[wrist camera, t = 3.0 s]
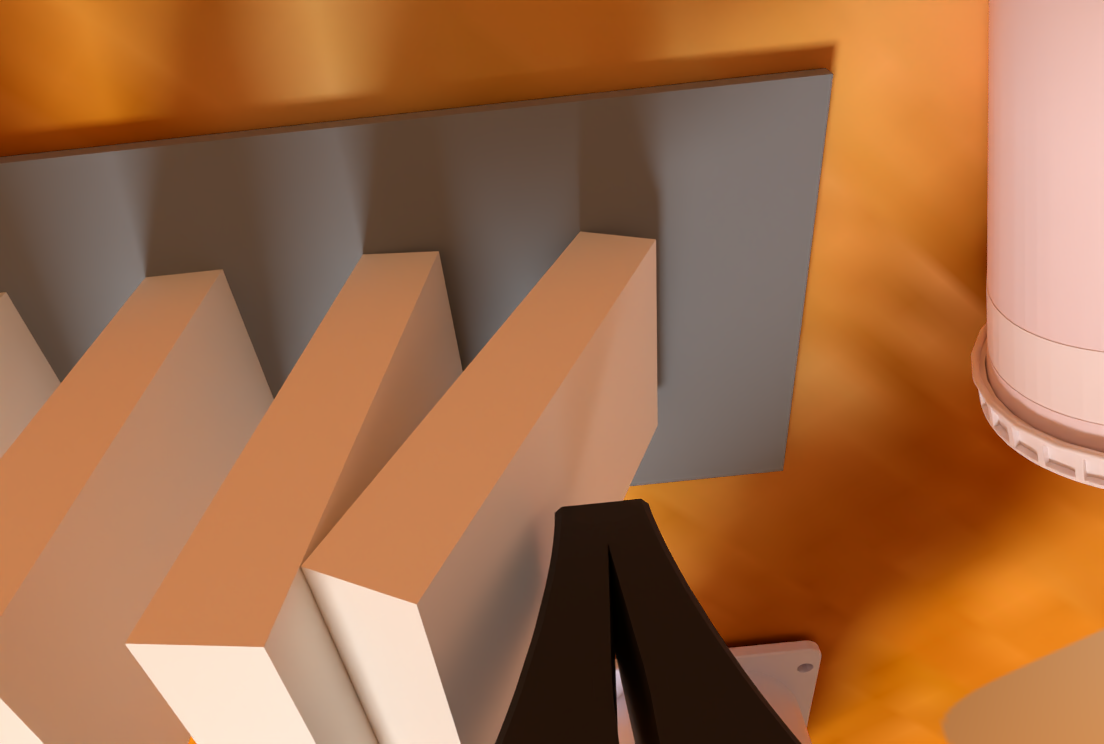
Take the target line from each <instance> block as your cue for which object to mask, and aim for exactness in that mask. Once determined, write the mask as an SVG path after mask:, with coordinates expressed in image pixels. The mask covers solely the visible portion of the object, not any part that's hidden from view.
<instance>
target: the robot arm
mask: <svg viewBox="0 0 1104 744" xmlns="http://www.w3.org/2000/svg"><path fill="white" fill-rule="evenodd" d="M615 655H616V659H615ZM821 657H822V656H821V652H820V649H819V646H818V645H817V644H816V643H815V642H813V641H809V640H803V641H793V642H783V643H773V644H763V645H753V646H743V647H733V648H728V647H727V645H726V644H725V642H724V641H723V639H722V638H721V636H720V635H719V633H718V632H717V630H716V629H715V627H714V626H713V624H712V623H711V621H710V619H709V618H708V616H707V615H706V613H705V611H704V610H703V608H702V607H701V605H700V603H699V602H698V600H697V599H696V597H695V595H694V594H693V592H692V591H691V589H690V587H689V586H688V584H687V582H686V580H685V579H684V577H683V575H682V573H681V572H680V570H679V568H678V566H677V564H676V562H675V561H674V559H673V557H672V555H671V553H670V551H669V549H668V547H667V545H666V543H665V541H664V539H663V537H662V535H661V533H660V531H659V529H658V527H657V524H656V522H655V520H654V517H653V515H652V512H651V510H650V507H649V504H648V503H647V502H645V501H644V500H642V499H634V500H624V501H614V502H604V503H594V504H584V505H574V506H564V507H561V508H560V509H558V510H557V511H556V512H555V526H554V538H553V547H552V554H551V560H550V565H549V570H548V575H547V580H546V585H545V590H544V594H543V598H542V601H541V605H540V609H539V613H538V617H537V621H536V625H535V629H534V633H533V636H532V639H531V643H530V646H529V649H528V652H527V655H526V658H525V661H524V664H523V668H522V671H521V674H520V677H519V680H518V683H517V686H516V689H515V692H514V695H513V698H512V700H511V703H510V706H509V709H508V711H507V714H506V717H505V719H504V722H503V724H502V727H501V730H500V732H499V735H498V737H497V740H496V742H495V744H812V743H811V740H810V737H809V734H808V731H807V723H808V718H809V714H810V709H811V704H812V699H813V695H814V690H815V685H816V680H817V676H818V671H819V666H820V661H821Z"/></svg>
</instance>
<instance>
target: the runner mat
mask: <svg viewBox="0 0 1104 744" xmlns="http://www.w3.org/2000/svg"><path fill="white" fill-rule="evenodd" d="M832 79H833V73H831V72H830V71H829V70H827V69H826V68H822V69H813V70H804V71H794V72H785V73H776V74H767V75H757V76H748V77H739V78H729V79H720V80H711V81H702V82H692V83H683V84H674V85H664V86H655V87H646V88H637V89H627V90H618V91H609V92H599V93H590V94H581V95H572V96H562V97H553V98H544V99H535V100H525V101H516V102H507V103H497V104H488V105H479V106H470V107H460V108H451V109H442V110H432V111H423V112H414V113H405V114H395V115H386V116H377V117H367V118H358V119H349V120H340V121H330V122H321V123H312V124H302V125H293V126H284V127H275V128H265V129H256V130H247V131H237V132H228V133H219V134H210V135H200V136H191V137H182V138H172V139H163V140H154V141H145V142H135V143H126V144H117V145H107V146H98V147H89V148H80V149H70V150H61V151H52V152H43V153H33V154H24V155H15V156H5V157H0V293H2V292H6V293H7V294H8V296H9V298H10V299H11V301H12V303H13V304H14V306H15V308H16V309H17V311H18V313H19V314H20V316H21V318H22V319H23V321H24V323H25V324H26V326H27V328H28V329H29V331H30V333H31V334H32V336H33V338H34V339H35V341H36V343H37V344H38V346H39V348H40V349H41V351H42V353H43V354H44V356H45V358H46V359H47V361H48V363H49V364H50V366H51V368H52V369H53V371H54V373H55V374H56V376H57V378H58V379H59V381H60V383H61V382H62V381H63V380H64V379H65V377H66V376H67V375H68V374H69V372H70V371H71V370H72V369H73V367H74V366H75V365H76V364H77V362H78V361H79V360H80V359H81V357H82V356H83V355H84V354H85V352H86V351H87V350H88V349H89V347H90V346H91V345H92V344H93V342H94V341H95V340H96V339H97V337H98V336H99V335H100V334H101V332H102V331H103V330H104V329H105V327H106V326H107V325H108V324H109V322H110V321H111V320H112V319H113V317H114V316H115V315H116V314H117V312H118V311H119V310H120V309H121V307H122V306H123V305H124V304H125V302H126V301H127V300H128V299H129V297H130V296H131V295H132V294H133V292H134V291H135V290H136V289H137V287H138V286H139V285H140V284H141V282H142V281H143V280H144V279H145V277H154V276H163V275H173V274H182V273H192V272H201V271H211V270H220V269H223V272H224V274H225V277H226V279H227V282H228V284H229V287H230V289H231V292H232V295H233V297H234V300H235V302H236V305H237V307H238V310H239V312H240V315H241V317H242V320H243V322H244V325H245V327H246V330H247V333H248V335H249V338H250V340H251V343H252V345H253V348H254V350H255V353H256V355H257V358H258V360H259V363H260V365H261V368H262V370H263V373H264V376H265V378H266V381H267V383H268V386H269V388H270V391H271V393H272V396H273V398H274V399H275V397H276V395H277V394H278V392H279V390H280V389H281V387H282V386H283V384H284V382H285V381H286V379H287V377H288V376H289V374H290V373H291V371H292V369H293V368H294V366H295V364H296V363H297V361H298V359H299V358H300V356H301V355H302V353H303V351H304V350H305V348H306V346H307V345H308V343H309V341H310V340H311V338H312V337H313V335H314V333H315V332H316V330H317V328H318V327H319V325H320V323H321V322H322V320H323V319H324V317H325V315H326V314H327V312H328V310H329V309H330V307H331V305H332V304H333V302H334V301H335V299H336V297H337V296H338V294H339V292H340V291H341V289H342V287H343V286H344V284H345V283H346V281H347V279H348V278H349V276H350V274H351V273H352V271H353V270H354V268H355V266H356V265H357V263H358V261H359V260H360V258H361V256H362V255H363V254H385V253H408V252H432V251H439V255H440V260H441V265H442V270H443V275H444V280H445V285H446V290H447V295H448V300H449V305H450V310H451V315H452V320H453V325H454V330H455V335H456V340H457V345H458V350H459V355H460V360H461V365H462V370H463V371H464V370H465V369H466V368H467V367H468V365H469V364H470V363H471V362H472V361H473V359H474V358H475V357H476V356H477V355H478V353H479V352H480V351H481V350H482V349H483V347H484V346H485V345H486V344H487V343H488V341H489V340H490V339H491V338H492V337H493V335H494V334H495V333H496V332H497V331H498V329H499V328H500V327H501V326H502V325H503V323H504V322H505V321H506V320H507V319H508V317H509V316H510V315H511V314H512V313H513V311H514V310H515V309H516V308H517V307H518V305H519V304H520V303H521V302H522V301H523V299H524V298H525V297H526V296H527V295H528V293H529V292H530V291H531V290H532V289H533V287H534V286H535V285H536V284H537V283H538V281H539V280H540V279H541V278H542V277H543V275H544V274H545V273H546V272H547V271H548V270H549V268H550V267H551V266H552V265H553V264H554V262H555V261H556V260H557V259H558V258H559V256H560V255H561V254H562V253H563V252H564V250H565V249H566V248H567V247H568V246H569V244H570V243H571V242H572V241H573V240H574V238H575V237H576V236H577V235H578V234H579V232H580V231H581V232H590V233H600V234H609V235H619V236H628V237H638V238H648V239H656V293H657V406H658V426H657V428H656V430H655V432H654V435H653V437H652V439H651V441H650V443H649V445H648V447H647V450H646V452H645V454H644V456H643V458H642V460H641V462H640V465H639V467H638V469H637V471H636V473H635V475H634V478H633V480H632V482H631V484H630V486H636V485H646V484H656V483H666V482H676V481H685V480H695V479H705V478H715V477H725V476H735V475H744V474H754V473H764V472H774V471H783V466H784V458H785V450H786V443H787V435H788V427H789V419H790V411H791V403H792V395H793V387H794V379H795V371H796V364H797V356H798V348H799V340H800V332H801V324H802V316H803V308H804V300H805V292H806V285H807V277H808V269H809V261H810V253H811V245H812V237H813V229H814V221H815V213H816V206H817V198H818V190H819V182H820V174H821V166H822V158H823V150H824V142H825V134H826V127H827V119H828V111H829V103H830V95H831V87H832Z"/></svg>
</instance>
